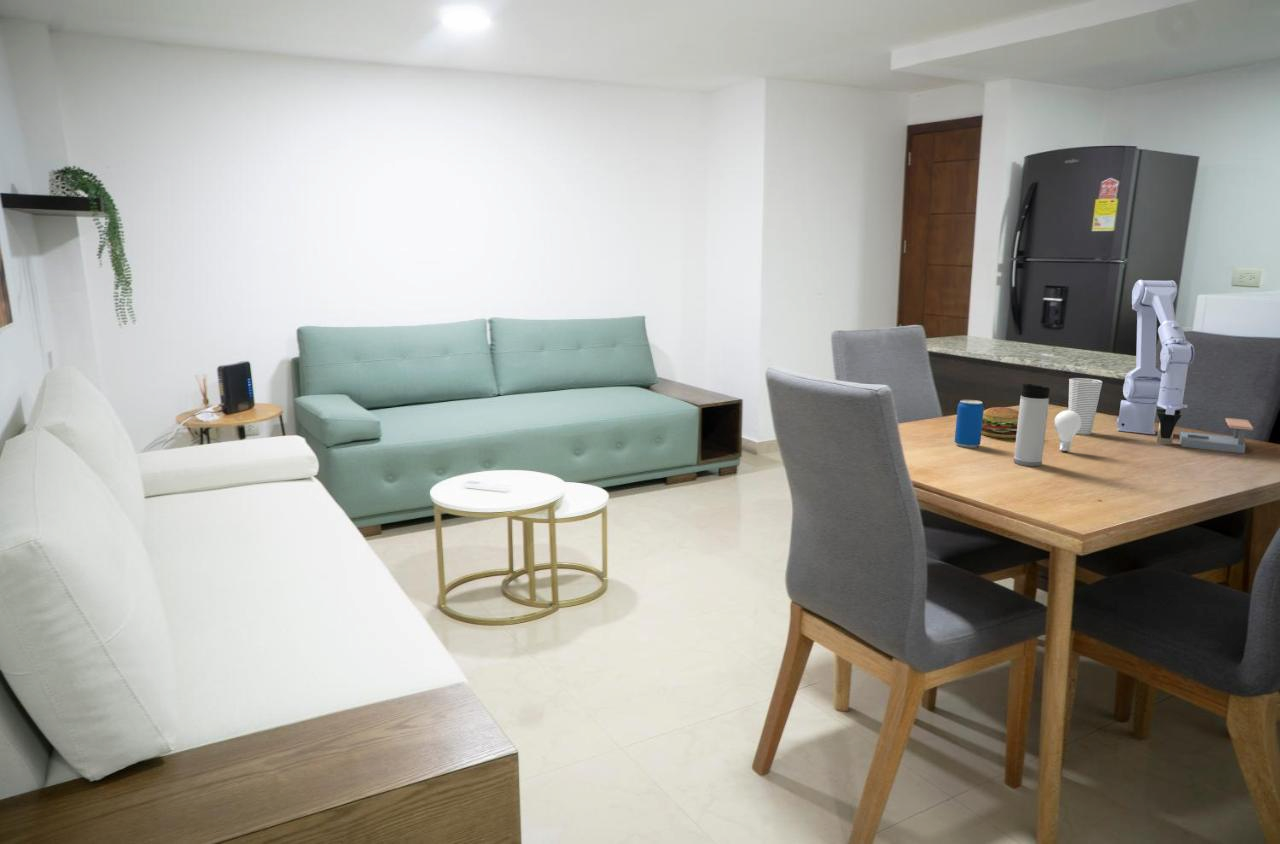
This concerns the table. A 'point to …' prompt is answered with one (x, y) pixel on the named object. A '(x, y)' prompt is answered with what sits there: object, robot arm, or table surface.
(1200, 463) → the table surface
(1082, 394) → the cup
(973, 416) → the beverage can
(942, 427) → the table surface
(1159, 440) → the peg
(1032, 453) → the travel mug
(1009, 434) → the food
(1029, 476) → the table surface
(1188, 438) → the socket station
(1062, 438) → the lightbulb
